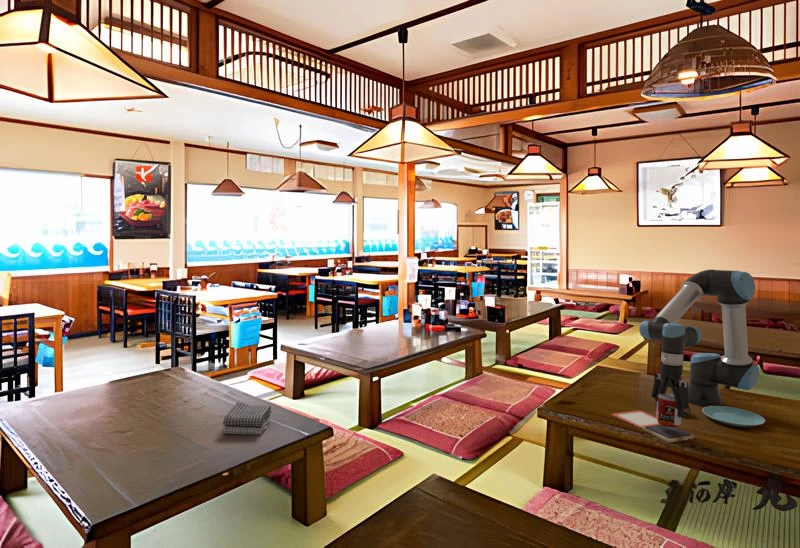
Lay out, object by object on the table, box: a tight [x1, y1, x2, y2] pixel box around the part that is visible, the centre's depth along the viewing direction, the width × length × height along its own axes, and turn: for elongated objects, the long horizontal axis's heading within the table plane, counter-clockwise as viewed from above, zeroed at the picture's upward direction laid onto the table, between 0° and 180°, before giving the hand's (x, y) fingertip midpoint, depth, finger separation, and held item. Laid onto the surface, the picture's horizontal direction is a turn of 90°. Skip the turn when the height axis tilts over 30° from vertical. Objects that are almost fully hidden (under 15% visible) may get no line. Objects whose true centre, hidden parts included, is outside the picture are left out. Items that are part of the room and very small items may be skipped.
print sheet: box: [610, 409, 660, 429], centre depth 206 cm, size 16×16×1 cm
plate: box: [701, 405, 766, 428], centre depth 207 cm, size 22×22×3 cm
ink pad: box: [641, 424, 696, 444], centre depth 191 cm, size 13×13×2 cm
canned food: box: [657, 392, 680, 428], centre depth 190 cm, size 8×8×11 cm
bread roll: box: [683, 406, 692, 417], centre depth 216 cm, size 10×10×8 cm
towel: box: [222, 401, 272, 436], centre depth 191 cm, size 15×18×8 cm
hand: (668, 420), depth 191 cm, fingers closed on canned food, 8 cm apart
